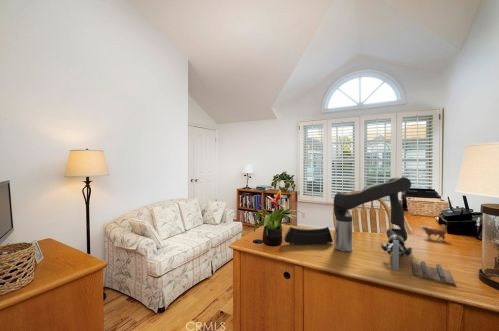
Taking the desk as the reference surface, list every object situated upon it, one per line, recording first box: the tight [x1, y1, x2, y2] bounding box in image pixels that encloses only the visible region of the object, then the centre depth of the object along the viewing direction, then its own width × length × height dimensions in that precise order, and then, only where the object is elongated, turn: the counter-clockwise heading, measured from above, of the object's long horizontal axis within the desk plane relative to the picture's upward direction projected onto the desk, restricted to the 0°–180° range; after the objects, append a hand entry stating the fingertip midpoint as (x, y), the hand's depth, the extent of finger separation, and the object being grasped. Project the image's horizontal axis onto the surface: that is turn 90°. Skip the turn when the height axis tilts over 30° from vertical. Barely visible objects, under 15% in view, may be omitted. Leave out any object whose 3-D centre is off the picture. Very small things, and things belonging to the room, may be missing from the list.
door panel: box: [391, 240, 400, 271], centre depth 109 cm, size 2×8×12 cm, turn 145°
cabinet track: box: [412, 260, 457, 287], centre depth 101 cm, size 14×13×3 cm
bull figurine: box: [419, 225, 447, 242], centre depth 146 cm, size 4×13×8 cm, turn 54°
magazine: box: [283, 226, 334, 246], centre depth 138 cm, size 17×3×30 cm
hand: (395, 254), depth 108 cm, fingers open, 4 cm apart
